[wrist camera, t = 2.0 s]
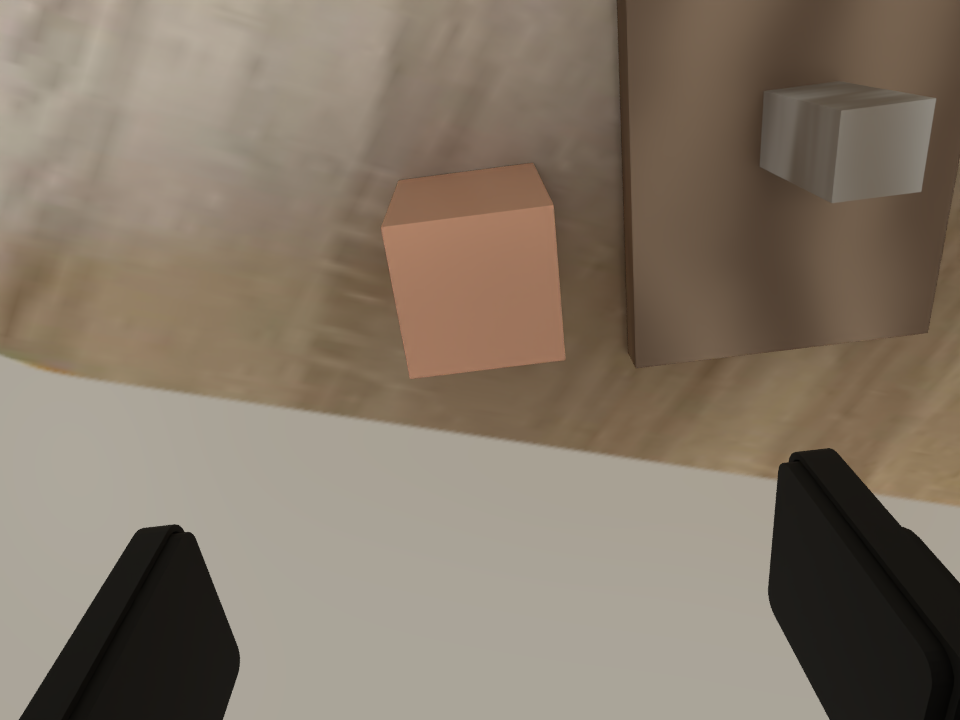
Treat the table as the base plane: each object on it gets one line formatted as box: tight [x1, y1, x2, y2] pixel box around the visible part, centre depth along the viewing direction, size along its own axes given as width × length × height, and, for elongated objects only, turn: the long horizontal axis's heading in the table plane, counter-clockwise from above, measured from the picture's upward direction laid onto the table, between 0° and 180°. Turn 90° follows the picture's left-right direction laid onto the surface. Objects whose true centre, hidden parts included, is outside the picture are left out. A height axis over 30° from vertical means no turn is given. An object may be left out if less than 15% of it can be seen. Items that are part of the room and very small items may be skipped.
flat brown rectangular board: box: [617, 0, 960, 368], centre depth 23 cm, size 12×18×7 cm, turn 7°
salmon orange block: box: [381, 163, 565, 379], centre depth 25 cm, size 5×5×7 cm
